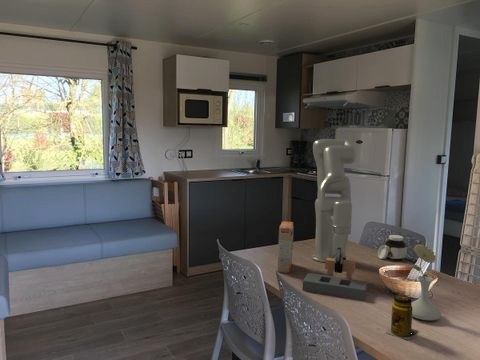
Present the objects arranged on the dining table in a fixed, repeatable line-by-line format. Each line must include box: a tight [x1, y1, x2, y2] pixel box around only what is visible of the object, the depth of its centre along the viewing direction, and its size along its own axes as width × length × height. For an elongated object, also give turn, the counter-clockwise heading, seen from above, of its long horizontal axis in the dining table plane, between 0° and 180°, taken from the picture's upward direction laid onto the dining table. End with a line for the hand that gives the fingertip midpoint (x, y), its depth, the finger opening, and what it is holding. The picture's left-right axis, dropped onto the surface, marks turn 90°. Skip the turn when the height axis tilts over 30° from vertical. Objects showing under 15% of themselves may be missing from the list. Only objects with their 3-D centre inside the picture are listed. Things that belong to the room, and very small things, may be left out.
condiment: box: [386, 294, 418, 341], centre depth 132 cm, size 7×8×12 cm
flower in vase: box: [411, 244, 442, 321], centre depth 144 cm, size 13×11×25 cm
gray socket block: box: [302, 272, 368, 301], centre depth 166 cm, size 10×24×4 cm, turn 67°
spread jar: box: [377, 234, 408, 262], centre depth 208 cm, size 12×11×12 cm
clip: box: [324, 257, 356, 279], centre depth 177 cm, size 4×12×9 cm, turn 67°
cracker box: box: [277, 221, 294, 274], centre depth 192 cm, size 14×6×21 cm, turn 168°
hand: (340, 269), depth 177 cm, fingers open, 8 cm apart
